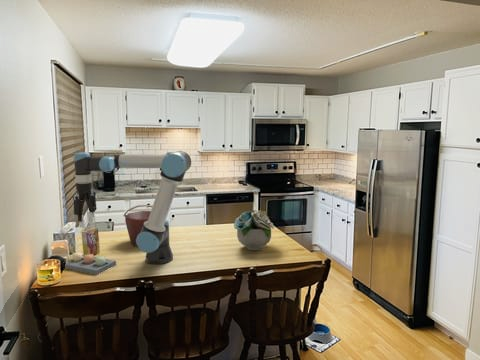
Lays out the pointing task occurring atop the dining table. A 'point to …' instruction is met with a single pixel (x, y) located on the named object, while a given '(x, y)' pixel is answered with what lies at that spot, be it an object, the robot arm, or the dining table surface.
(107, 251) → the dining table surface
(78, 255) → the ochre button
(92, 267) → the slate board
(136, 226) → the bucket
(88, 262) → the terracotta button
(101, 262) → the sage button
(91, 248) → the candy box
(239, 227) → the flower arrangement
